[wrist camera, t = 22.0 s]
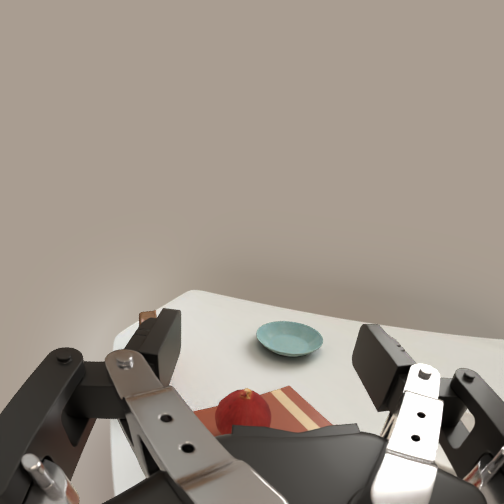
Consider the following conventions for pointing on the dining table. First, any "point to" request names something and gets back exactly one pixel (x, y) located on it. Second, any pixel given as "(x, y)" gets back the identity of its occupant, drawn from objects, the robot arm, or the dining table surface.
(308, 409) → the towel
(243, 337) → the dining table surface
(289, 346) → the saucer
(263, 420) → the red pomegranate
